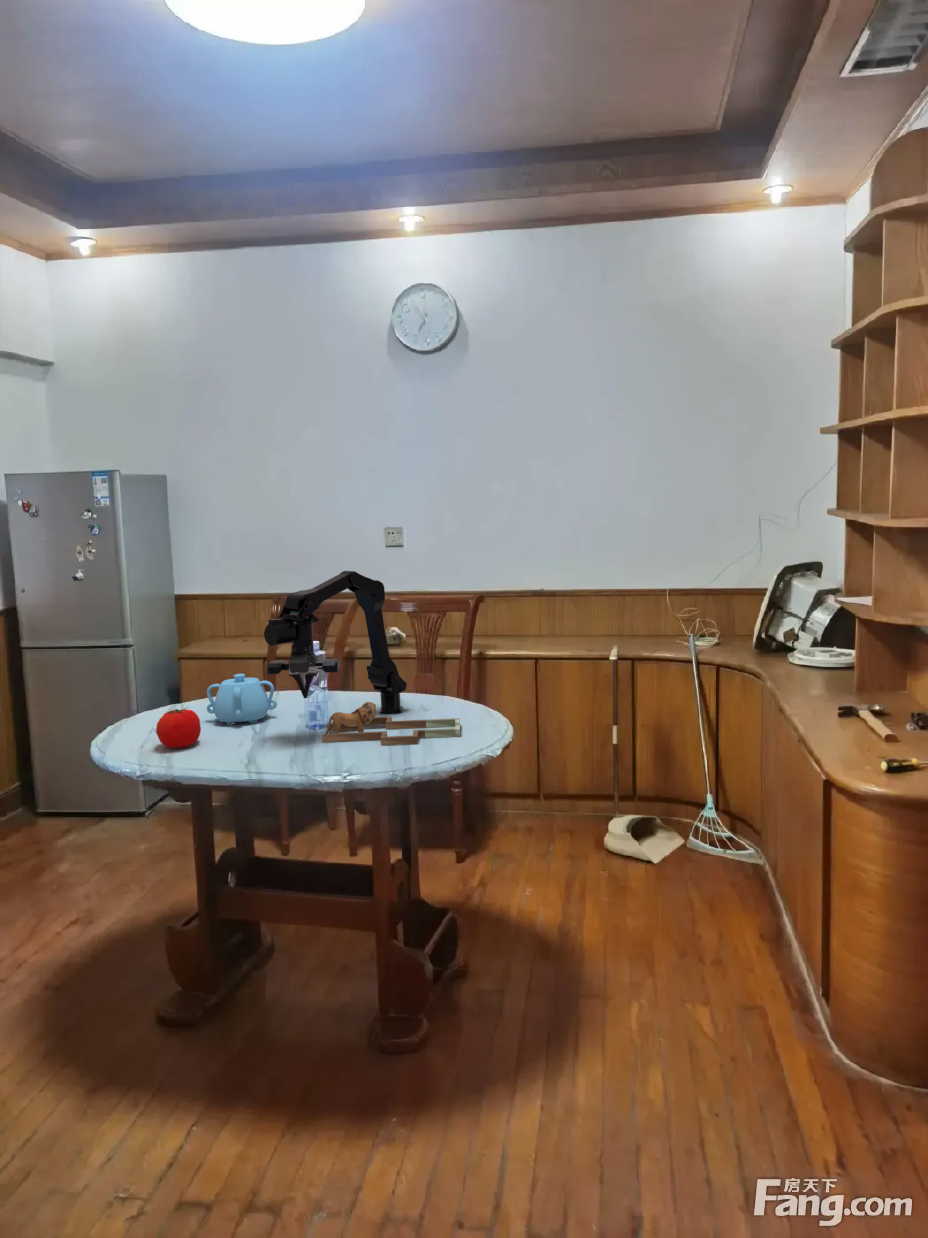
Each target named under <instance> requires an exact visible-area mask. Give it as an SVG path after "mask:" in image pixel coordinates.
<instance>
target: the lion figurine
mask: <svg viewBox="0 0 928 1238" xmlns="http://www.w3.org/2000/svg"><path fill="white" fill-rule="evenodd" d="M377 712H378V711H377V707H376V703H375V702H372V701H366V702H364V703H363V704H362V705H361V706H360V707H357V708H356V709H355V710H354V711H353V712H348V713H347V712H341V711H337V712H334V713H332V715H330V717H329V719H328V722H327V724H328V728H326V732H325V733H324V734H333V733H340V732H339V729H340V726H341V723H342V724H344V725H345V726H349V727H353V726H358V731H357V732H365V729H364V726H365V725H369V724H370V723H371V721H372V720H373V719H374V718H375V717H377V714H378V713H377ZM330 724H332V726H331V727H330ZM333 729H336V730H335V732H332V731H333Z"/></svg>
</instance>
